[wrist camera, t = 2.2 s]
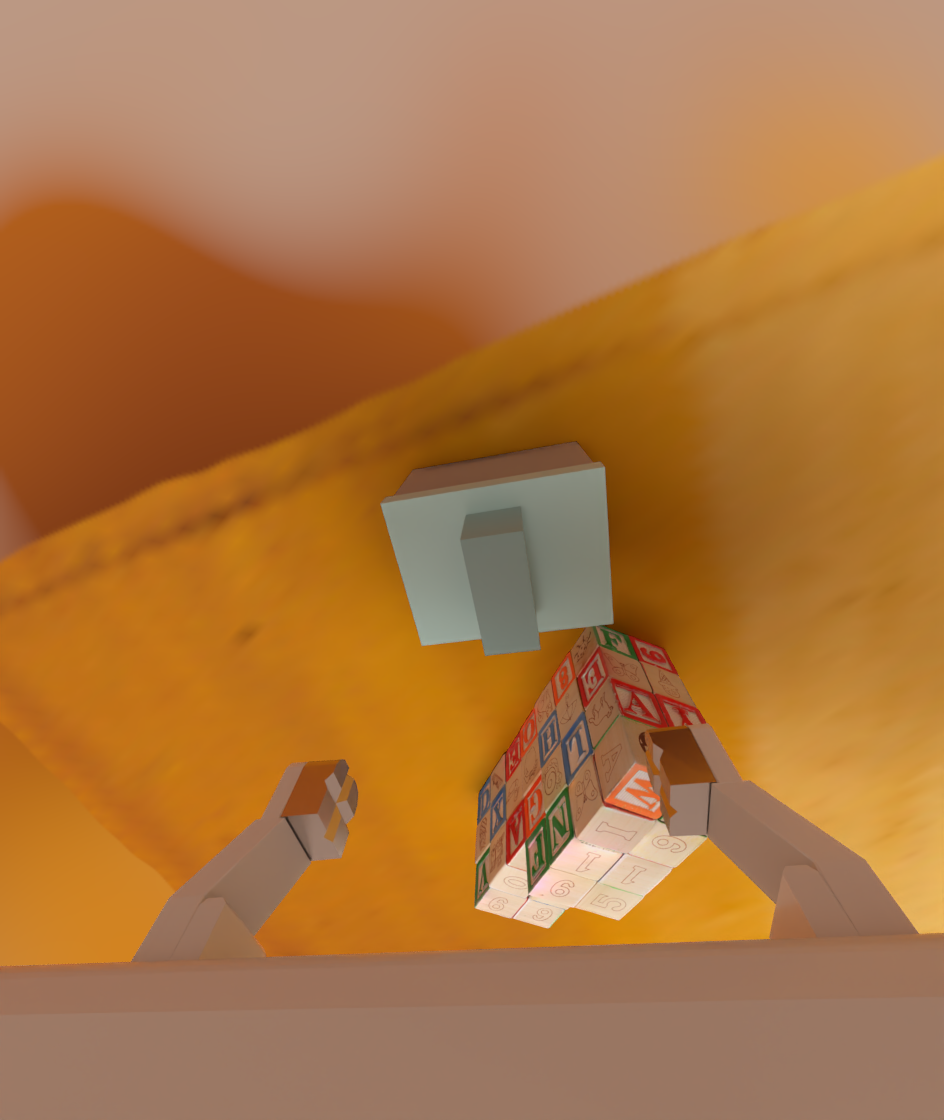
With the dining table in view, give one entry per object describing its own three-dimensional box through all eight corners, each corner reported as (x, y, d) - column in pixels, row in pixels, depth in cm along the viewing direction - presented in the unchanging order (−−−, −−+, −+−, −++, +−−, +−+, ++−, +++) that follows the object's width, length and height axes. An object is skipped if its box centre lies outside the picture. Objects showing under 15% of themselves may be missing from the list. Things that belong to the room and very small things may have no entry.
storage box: (576, 441, 25) (596, 466, 20) (586, 561, 29) (605, 610, 23) (413, 469, 27) (390, 500, 21) (440, 581, 30) (427, 631, 25)
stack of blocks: (538, 811, 41) (551, 983, 30) (477, 792, 40) (467, 960, 29) (665, 646, 31) (753, 807, 20) (589, 616, 31) (637, 766, 20)
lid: (595, 455, 21) (621, 486, 16) (604, 601, 24) (628, 661, 20) (391, 490, 22) (361, 527, 18) (428, 623, 26) (411, 683, 21)
